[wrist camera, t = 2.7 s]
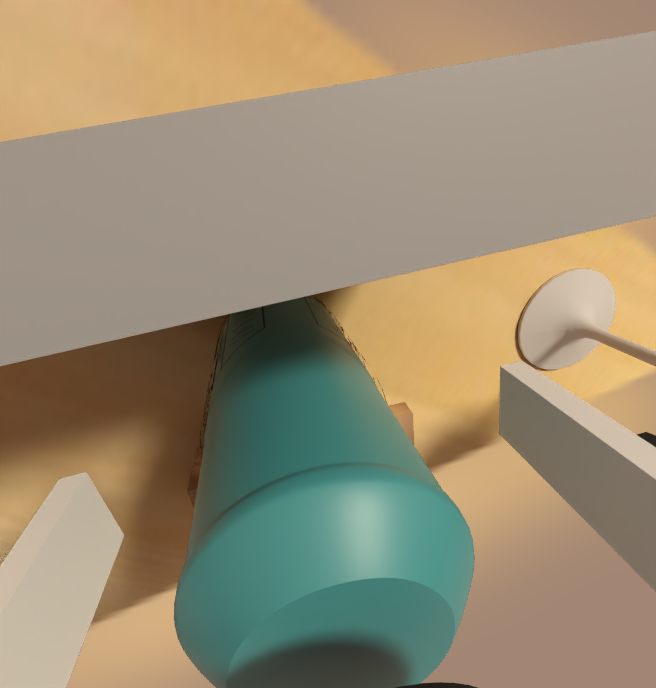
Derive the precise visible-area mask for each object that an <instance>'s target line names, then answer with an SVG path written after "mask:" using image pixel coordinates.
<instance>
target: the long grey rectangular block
mask: <svg viewBox="0 0 656 688" xmlns="http://www.w3.org/2000/svg"><path fill="white" fill-rule="evenodd" d="M655 216H656V31H652V32H646V33H640V34H634V35H628V36H622V37H616V38H611V39H605V40H599V41H593V42H587V43H581V44H575V45H570V46H564V47H558V48H552V49H546V50H540V51H534V52H528V53H522V54H516V55H510V56H505V57H499V58H493V59H487V60H481V61H476V62H469V63H463V64H457V65H452V66H446V67H440V68H435V69H428V70H422V71H416V72H410V73H405V74H399V75H393V76H387V77H381V78H375V79H369V80H363V81H357V82H352V83H346V84H340V85H334V86H328V87H322V88H316V89H310V90H304V91H299V92H293V93H287V94H281V95H275V96H269V97H263V98H257V99H252V100H246V101H240V102H234V103H228V104H222V105H216V106H210V107H204V108H199V109H193V110H187V111H181V112H175V113H169V114H163V115H157V116H151V117H146V118H140V119H134V120H128V121H122V122H116V123H110V124H104V125H98V126H93V127H87V128H81V129H75V130H69V131H63V132H57V133H51V134H46V135H40V136H34V137H28V138H22V139H16V140H10V141H4V142H0V366H4V365H8V364H12V363H17V362H21V361H25V360H30V359H34V358H39V357H43V356H47V355H52V354H56V353H60V352H65V351H69V350H74V349H78V348H82V347H87V346H91V345H95V344H100V343H104V342H108V341H113V340H117V339H122V338H126V337H130V336H135V335H139V334H143V333H148V332H152V331H157V330H161V329H165V328H170V327H174V326H178V325H183V324H187V323H191V322H196V321H200V320H205V319H209V318H213V317H218V316H222V315H226V314H231V313H235V312H240V311H244V310H248V309H253V308H257V307H261V306H266V305H270V304H274V303H279V302H283V301H288V300H292V299H296V298H301V297H305V296H309V295H314V294H318V293H323V292H327V291H331V290H336V289H340V288H344V287H349V286H353V285H357V284H362V283H366V282H371V281H375V280H379V279H384V278H388V277H392V276H397V275H401V274H406V273H410V272H414V271H419V270H423V269H427V268H432V267H436V266H440V265H445V264H449V263H454V262H458V261H462V260H467V259H471V258H475V257H480V256H484V255H489V254H493V253H497V252H502V251H506V250H510V249H515V248H519V247H523V246H528V245H532V244H537V243H541V242H545V241H550V240H554V239H558V238H563V237H567V236H572V235H576V234H580V233H585V232H589V231H593V230H598V229H602V228H606V227H611V226H615V225H620V224H624V223H628V222H632V221H637V220H641V219H646V218H650V217H655Z"/></svg>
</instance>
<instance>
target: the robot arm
mask: <svg viewBox="0 0 656 688" xmlns="http://www.w3.org/2000/svg"><path fill="white" fill-rule="evenodd" d="M499 434H500V435H501V436H502V437H503V438H504V439H505V440H506V441H507V442H508V443H509V444H510V445H511V446H512V447H513V448H514V449H515V450H516V451H517V452H518V453H519V454H520V455H521V456H522V457H523V458H524V459H525V460H526V461H527V462H528V463H529V464H530V465H531V466H532V467H533V468H534V469H535V470H536V471H537V472H538V473H539V474H540V475H541V476H542V477H543V478H544V479H545V480H546V481H547V482H548V483H549V484H550V485H551V486H552V487H553V488H554V489H555V490H556V491H557V492H558V493H559V494H560V495H561V496H562V497H563V499H564V500H565V501H566V502H567V503H568V504H570V505H571V507H572V508H574V510H575V511H576V512H577V513H578V514H579V515H580V516H581V517H582V518H583V519H584V520H585V521H586V522H587V523H588V524H589V525H590V526H591V527H592V528H593V529H594V530H595V531H596V532H597V533H598V534H599V535H600V536H601V537H602V538H603V539H604V540H605V541H606V542H607V543H608V544H609V545H610V546H611V547H612V548H613V549H614V550H615V551H616V552H617V553H618V554H619V555H620V556H621V557H622V558H623V559H624V560H625V561H626V562H627V563H628V564H629V565H630V566H631V567H632V568H633V569H634V570H635V571H636V572H637V573H638V574H639V575H640V576H641V577H642V578H643V579H644V580H645V581H646V582H647V583H648V584H649V586H651V588H652V589H654V591H655V592H656V436H655V435H653V434H650V433H647V432H645V433H641V434H637V435H636V434H634V433H633V432H631V431H629V430H628V429H626V428H625V427H623V426H622V425H620V424H619V423H617V422H616V421H614V420H613V419H611V418H610V417H608V416H607V415H605V414H603V413H602V412H600V411H599V410H597V409H596V408H594V407H593V406H591V405H590V404H588V403H587V402H585V401H583V400H582V399H580V398H579V397H577V396H576V395H574V394H573V393H571V392H570V391H568V390H567V389H565V388H563V387H562V386H560V385H559V384H557V383H556V382H554V381H553V380H551V379H550V378H548V377H546V376H545V375H543V374H542V373H540V372H539V371H537V370H536V369H534V368H533V367H531V366H530V365H528V364H526V363H525V362H523V361H519V362H515V363H511V364H507V365H503V366H500V408H499ZM123 538H124V534H123V532H122V531H121V529H120V527H119V526H118V524H117V522H116V521H115V519H114V517H113V516H112V514H111V512H110V511H109V509H108V507H107V506H106V504H105V502H104V501H103V499H102V497H101V495H100V494H99V492H98V490H97V489H96V487H95V485H94V484H93V482H92V480H91V479H90V477H89V475H88V474H87V472H84V473H80V474H76V475H72V476H68V477H64V478H60V479H59V480H58V482H57V483H56V485H55V486H54V487H53V489H52V490H51V492H50V493H49V495H48V496H47V498H46V499H45V501H44V502H43V504H42V505H41V507H40V508H39V510H38V511H37V513H36V514H35V515H34V517H33V518H32V520H31V521H30V523H29V524H28V526H27V527H26V529H25V530H24V532H23V533H22V535H21V536H20V538H19V539H18V540H17V542H16V543H15V545H14V546H13V548H12V549H11V551H10V552H9V554H8V555H7V557H6V558H5V560H4V561H3V563H2V564H1V565H0V688H66V687H67V685H68V682H69V679H70V677H71V674H72V672H73V669H74V666H75V663H76V661H77V658H78V656H79V653H80V651H81V648H82V645H83V643H84V640H85V637H86V634H87V632H88V630H89V627H90V624H91V622H92V619H93V617H94V614H95V611H96V609H97V606H98V603H99V601H100V598H101V596H102V593H103V590H104V588H105V585H106V582H107V580H108V577H109V575H110V572H111V569H112V567H113V564H114V561H115V559H116V556H117V554H118V551H119V548H120V546H121V543H122V540H123Z"/></svg>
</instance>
